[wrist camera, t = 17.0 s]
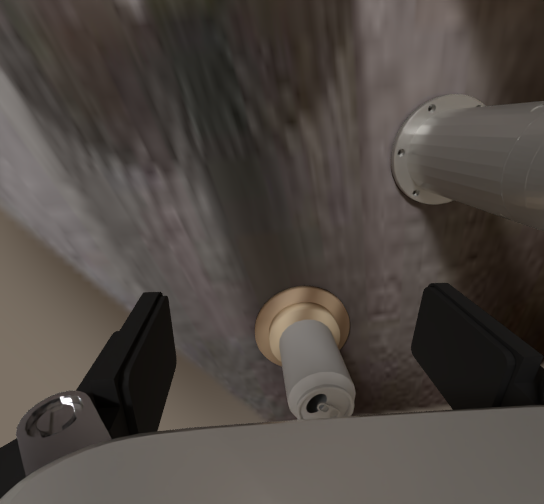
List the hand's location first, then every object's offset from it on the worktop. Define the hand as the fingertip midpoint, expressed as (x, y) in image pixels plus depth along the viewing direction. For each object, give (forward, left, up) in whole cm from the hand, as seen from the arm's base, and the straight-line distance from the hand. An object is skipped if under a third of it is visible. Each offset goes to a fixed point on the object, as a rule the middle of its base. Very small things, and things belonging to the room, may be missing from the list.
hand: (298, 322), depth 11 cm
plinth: (-6, +21, -28) cm, 36 cm away
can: (-6, +21, -26) cm, 33 cm away
